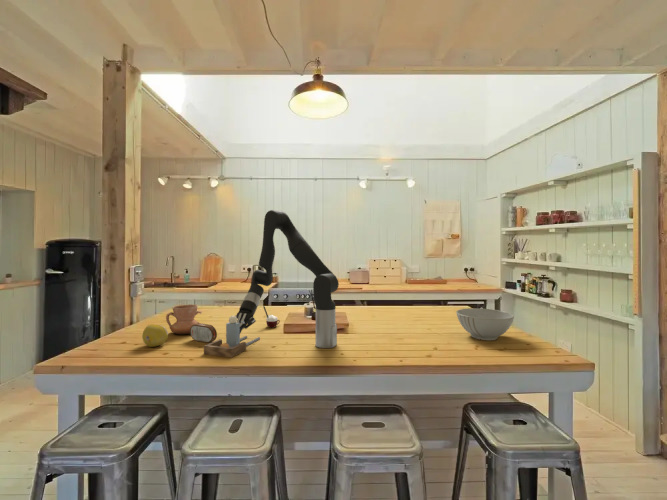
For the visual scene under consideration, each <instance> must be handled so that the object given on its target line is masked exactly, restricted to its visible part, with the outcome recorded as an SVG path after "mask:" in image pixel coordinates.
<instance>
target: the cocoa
mask: <svg viewBox="0 0 667 500" xmlns="http://www.w3.org/2000/svg"><path fill="white" fill-rule="evenodd" d="M262 308H263V310H264V312H265V315H266V319H265V320H266V321H265V323H266V326H267V327H268V328H275V327H277V325H278V326H279V324H280V323H281V320H280V319H278V316H275V315H273V314H268V313H267V309H266V307H265V305H263V306H262Z"/></svg>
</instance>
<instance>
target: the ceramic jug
mask: <svg viewBox="0 0 667 500" xmlns="http://www.w3.org/2000/svg"><path fill="white" fill-rule="evenodd" d="M198 306H199V305H197V304H194V303H193V304H192V303H191V304H181V305H173V306H172V311H173V312H172V311H171V312H167V314H166V316H165V321H166V323H167V325H168V326H169V327H168V328H169V330H170V332H171V333H173V334H175V335H189V334H190V335H191V333H190V328H191V327H192V326H193V325H194V324H197V323H200V322H199V321H198V320H195V317H196V315H198V314H202V313H203V311H202V310H198V309H199V307H198ZM170 316H172V317H175V319H176V321H175V322H174V323H173V324H171V321H170Z"/></svg>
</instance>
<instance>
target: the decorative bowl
mask: <svg viewBox="0 0 667 500" xmlns="http://www.w3.org/2000/svg"><path fill="white" fill-rule="evenodd" d="M455 313H456V317H457V319H458V321H459V324H460V326H461V327H462V328H463V330H465V331H466V332H467V333H469V334H470V337H472V338H473V339H476V340H480V339H481V341H496V340H497V339H498V338H499V337H500V336H502V335H504V334H505V333H506V332H508V330H509V329H510V327H511V326H512V324H513V322H514V319H515V315H514V314H512V313H510V312H508V311H504V310H498V309H491V308H490V309H489V308H481V307H480V308H479V307H478V308H477V307H476V308H473V307H472V308H460V309H457V311H456V312H455Z"/></svg>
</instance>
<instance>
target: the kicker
mask: <svg viewBox="0 0 667 500" xmlns="http://www.w3.org/2000/svg"><path fill="white" fill-rule="evenodd" d="M237 320H238V319H237V318H236V315H230V316H229V318H228V322H227V323H226V324H225V326H226V329H225V334H226V336H225V338H226V339H225V340H226V341H225V343H227V344H228V345H229V348H231V347H234V346H236V345H238V344H240V343H241V341H240V338H241V333H240V323H236V322H237Z"/></svg>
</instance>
